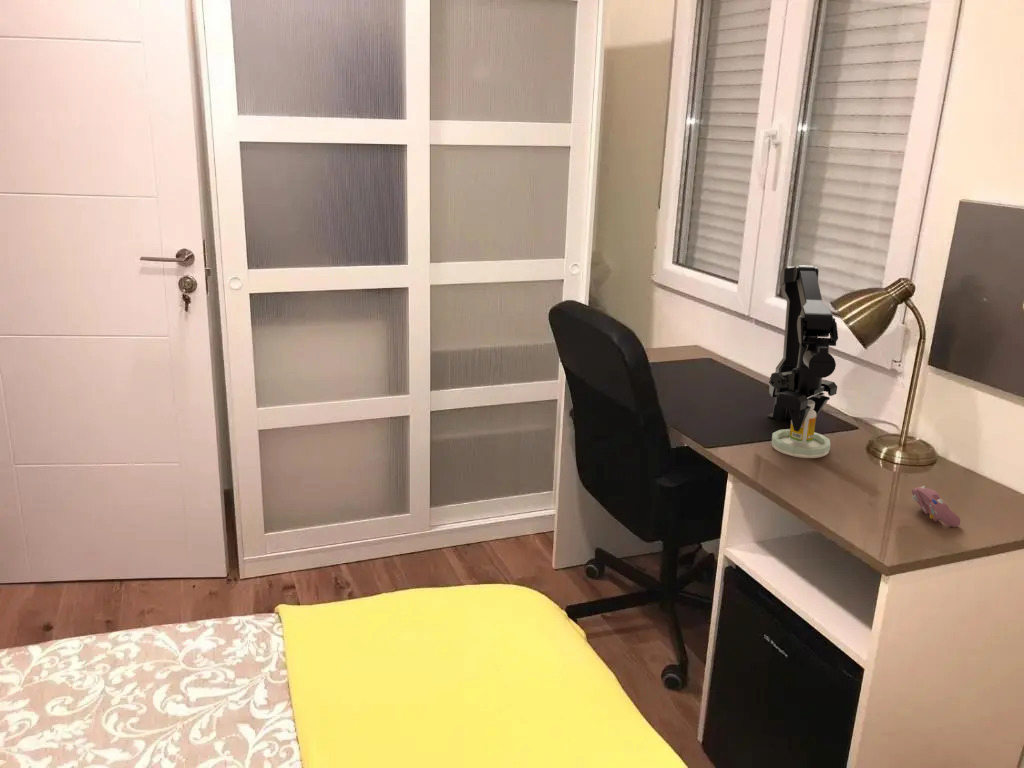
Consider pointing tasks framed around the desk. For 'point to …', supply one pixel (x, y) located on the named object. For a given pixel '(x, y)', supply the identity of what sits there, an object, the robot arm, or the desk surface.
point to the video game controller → (934, 506)
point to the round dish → (800, 445)
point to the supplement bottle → (805, 427)
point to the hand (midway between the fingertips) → (802, 427)
